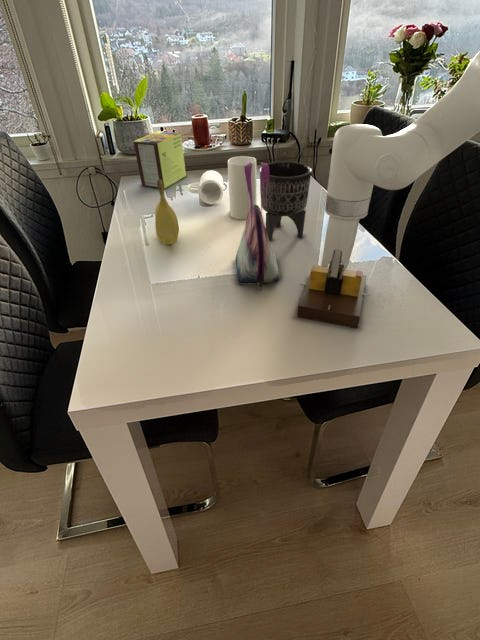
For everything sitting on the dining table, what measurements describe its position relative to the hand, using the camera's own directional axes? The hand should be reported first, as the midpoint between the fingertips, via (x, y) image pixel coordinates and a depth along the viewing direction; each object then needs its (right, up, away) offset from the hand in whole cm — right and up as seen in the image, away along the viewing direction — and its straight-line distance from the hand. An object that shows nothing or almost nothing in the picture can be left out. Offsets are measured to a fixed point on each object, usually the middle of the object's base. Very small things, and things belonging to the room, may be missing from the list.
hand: (333, 288), depth 78 cm
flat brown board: (0, -3, +2) cm, 3 cm away
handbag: (-15, +5, +12) cm, 20 cm away
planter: (-8, +18, +27) cm, 33 cm away
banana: (-39, +15, +26) cm, 50 cm away
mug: (-31, +34, +49) cm, 67 cm away
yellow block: (0, 0, 0) cm, 0 cm away
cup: (-18, +26, +39) cm, 50 cm away
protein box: (-48, +46, +65) cm, 93 cm away
